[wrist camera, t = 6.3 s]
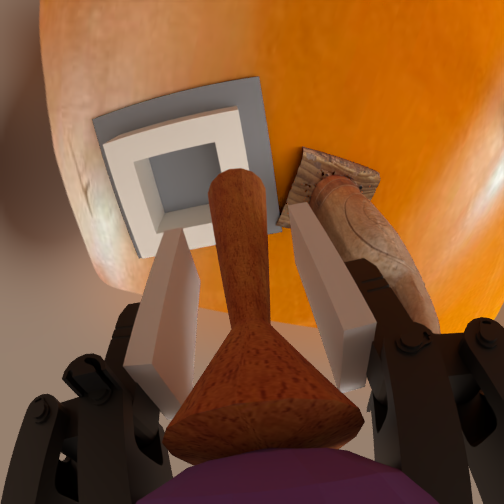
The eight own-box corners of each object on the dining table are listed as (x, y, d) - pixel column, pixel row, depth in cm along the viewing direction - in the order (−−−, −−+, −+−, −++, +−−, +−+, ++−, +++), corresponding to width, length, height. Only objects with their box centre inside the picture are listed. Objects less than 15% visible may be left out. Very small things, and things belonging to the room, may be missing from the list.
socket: (95, 118, 30) (71, 127, 25) (258, 76, 30) (264, 75, 24) (140, 254, 41) (129, 282, 35) (280, 228, 40) (289, 254, 35)
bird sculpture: (348, 237, 43) (460, 438, 16) (272, 223, 41) (341, 473, 13) (375, 167, 37) (557, 340, 10) (294, 144, 35) (472, 359, 8)
